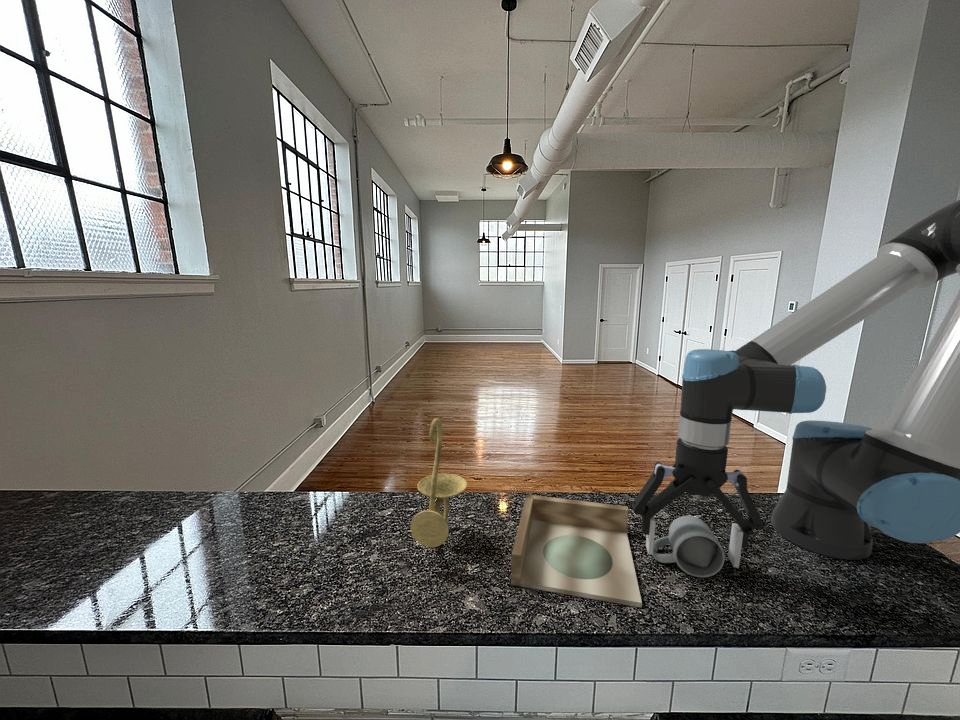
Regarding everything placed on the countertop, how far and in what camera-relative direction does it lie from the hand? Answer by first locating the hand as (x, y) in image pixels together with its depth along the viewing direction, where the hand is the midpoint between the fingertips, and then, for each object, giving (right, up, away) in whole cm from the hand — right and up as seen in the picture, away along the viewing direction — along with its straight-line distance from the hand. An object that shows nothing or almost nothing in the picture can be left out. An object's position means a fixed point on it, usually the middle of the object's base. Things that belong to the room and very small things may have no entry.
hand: (690, 556), depth 70 cm
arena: (-20, -1, +2) cm, 20 cm away
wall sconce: (-45, 0, +6) cm, 45 cm away
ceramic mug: (-1, -1, 0) cm, 2 cm away
